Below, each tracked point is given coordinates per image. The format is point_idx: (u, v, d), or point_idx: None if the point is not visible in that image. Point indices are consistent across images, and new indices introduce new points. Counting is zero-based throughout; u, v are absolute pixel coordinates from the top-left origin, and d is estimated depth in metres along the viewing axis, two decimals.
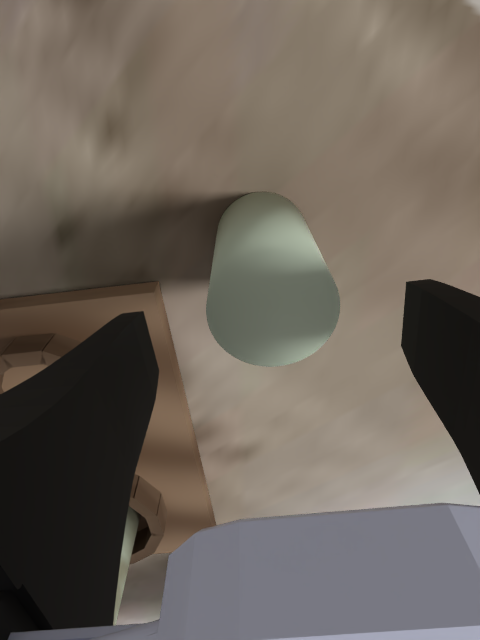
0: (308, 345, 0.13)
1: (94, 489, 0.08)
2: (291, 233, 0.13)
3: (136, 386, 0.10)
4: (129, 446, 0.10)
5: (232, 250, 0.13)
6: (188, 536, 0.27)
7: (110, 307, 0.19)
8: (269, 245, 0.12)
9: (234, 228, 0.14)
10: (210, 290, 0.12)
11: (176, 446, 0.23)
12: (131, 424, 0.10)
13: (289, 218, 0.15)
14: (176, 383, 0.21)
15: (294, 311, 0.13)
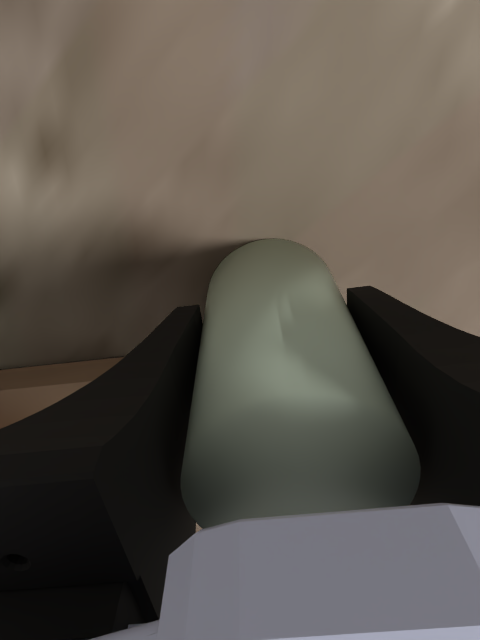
0: None
1: (176, 482, 0.08)
2: (330, 341, 0.08)
3: None
4: None
5: (227, 377, 0.07)
6: None
7: (58, 397, 0.13)
8: (296, 382, 0.06)
9: (231, 315, 0.09)
10: (187, 457, 0.07)
11: None
12: None
13: (319, 297, 0.09)
14: None
15: (336, 487, 0.07)
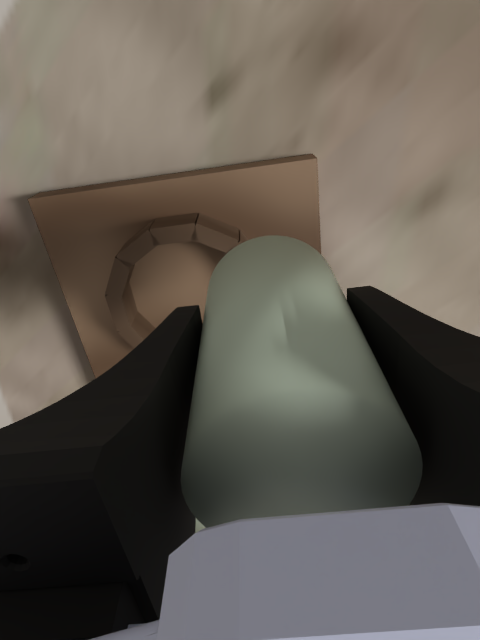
0: None
1: (176, 482, 0.08)
2: (333, 337, 0.07)
3: None
4: None
5: (230, 371, 0.07)
6: None
7: (265, 178, 0.17)
8: (300, 376, 0.06)
9: (233, 310, 0.09)
10: (188, 451, 0.07)
11: None
12: None
13: (322, 294, 0.09)
14: None
15: (338, 483, 0.07)
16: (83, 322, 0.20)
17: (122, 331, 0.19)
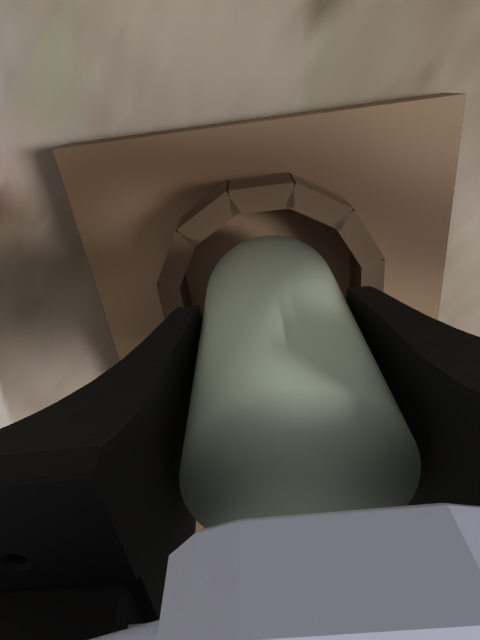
0: None
1: (176, 482, 0.08)
2: (331, 337, 0.07)
3: None
4: None
5: (228, 371, 0.07)
6: None
7: (388, 123, 0.12)
8: (299, 377, 0.06)
9: (232, 310, 0.09)
10: (186, 451, 0.07)
11: None
12: None
13: (321, 294, 0.09)
14: (444, 262, 0.14)
15: (336, 483, 0.07)
16: (119, 322, 0.15)
17: None
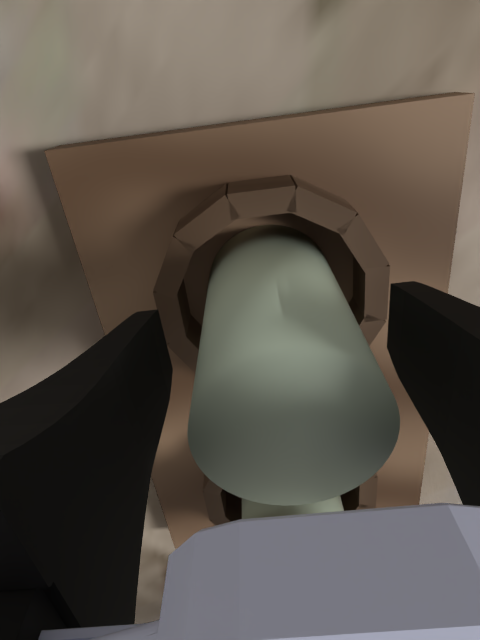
0: (345, 480, 0.09)
1: (116, 487, 0.08)
2: (322, 309, 0.08)
3: (152, 384, 0.10)
4: (146, 444, 0.10)
5: (231, 337, 0.08)
6: None
7: (393, 124, 0.12)
8: (292, 339, 0.07)
9: (234, 288, 0.10)
10: (194, 405, 0.08)
11: None
12: (148, 422, 0.10)
13: (314, 274, 0.10)
14: (450, 268, 0.14)
15: (326, 436, 0.08)
16: None
17: (173, 343, 0.13)
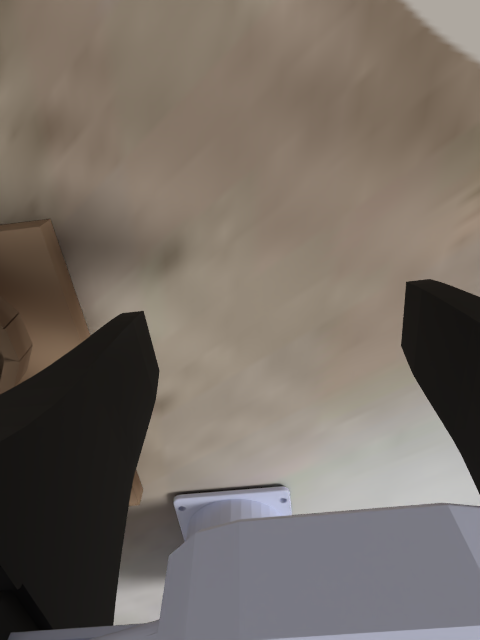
0: None
1: (94, 489, 0.08)
2: None
3: (136, 386, 0.10)
4: (129, 446, 0.10)
5: None
6: None
7: None
8: None
9: None
10: None
11: None
12: (131, 424, 0.10)
13: None
14: (75, 325, 0.21)
15: None
16: None
17: None
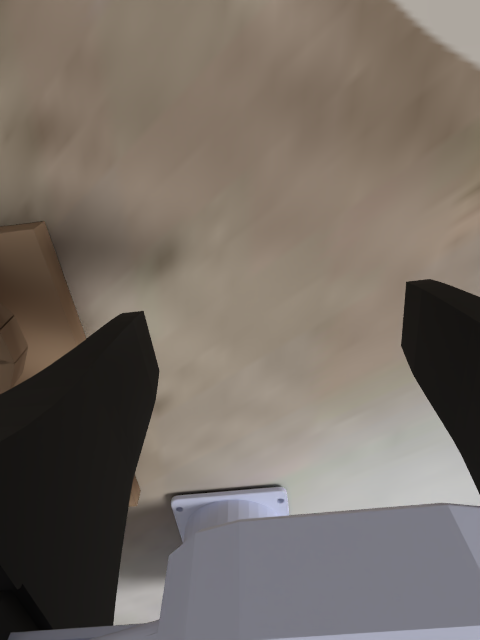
0: None
1: (94, 489, 0.08)
2: None
3: (136, 386, 0.10)
4: (129, 446, 0.10)
5: None
6: None
7: None
8: None
9: None
10: None
11: None
12: (131, 424, 0.10)
13: None
14: (70, 327, 0.21)
15: None
16: None
17: None
